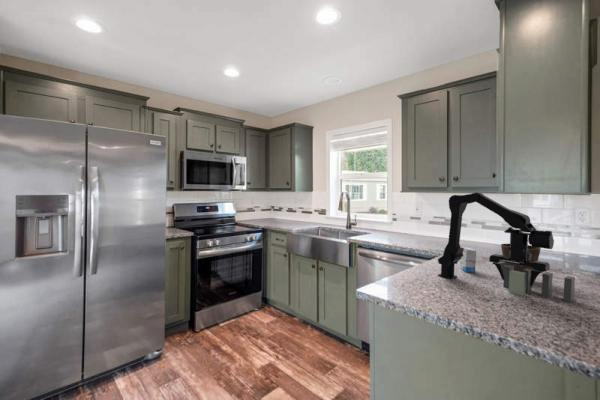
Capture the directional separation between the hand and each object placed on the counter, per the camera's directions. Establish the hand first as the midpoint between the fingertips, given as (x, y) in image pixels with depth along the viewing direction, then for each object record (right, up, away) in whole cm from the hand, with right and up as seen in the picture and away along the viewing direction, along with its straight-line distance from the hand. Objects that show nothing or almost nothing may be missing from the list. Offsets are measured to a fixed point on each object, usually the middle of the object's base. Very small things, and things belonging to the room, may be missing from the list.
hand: (517, 283), depth 115 cm
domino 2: (+7, -4, +4) cm, 9 cm away
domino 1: (+3, -4, +9) cm, 11 cm away
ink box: (+1, -4, +35) cm, 35 cm away
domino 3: (+11, -5, -1) cm, 12 cm away
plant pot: (+17, -4, +21) cm, 27 cm away
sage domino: (0, -4, 0) cm, 4 cm away
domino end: (+15, -5, -7) cm, 17 cm away
